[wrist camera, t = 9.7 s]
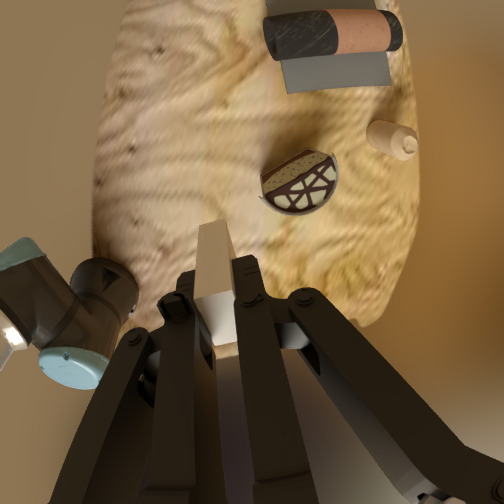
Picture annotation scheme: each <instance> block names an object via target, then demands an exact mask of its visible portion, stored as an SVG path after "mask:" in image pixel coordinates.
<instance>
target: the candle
mask: <svg viewBox="0 0 504 504" xmlns="http://www.w3.org/2000/svg"><path fill="white" fill-rule="evenodd" d="M366 137H367V141H368V143H369V144H370V145H371V146H372V147H373V148H375V149H377V150H379V151H382V152H384V153H386V154H388V155H390V156H393V157H395V158H397V159H399V160H402V161H406V160H409V159H411V158H412V157H413V156H414V155H415V154H416V152H417V150H418V137H417V135H416V133H415V131H414V130H413V129H411V128H409V127H406V126H403V125H399V124H395V123H391V122H387V121H383V120H376V121H373V122H372V123H371V124H370V125H369V126H368V128H367V131H366Z"/></svg>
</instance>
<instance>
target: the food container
mask: <svg viewBox="0 0 504 504" xmlns="http://www.w3.org/2000/svg"><path fill="white" fill-rule="evenodd" d="M332 155H333V156H331V155H328V154H325V153H322V152H319V151H317V150H314V149H311V148H306V149H305V150H303V151H301V152H299V153H298V154H296V155H294V156H293V157H291V158H289V159H287V160H286V161H284V162H282V163H281V164H279V165H277V166H276V167H274V168H272V169H271V170H269V171H267V172H266V173H264V174H263V175H261V176H260V180H261V187H262V194H263V198H262V197H260V196H259V198H260V199H261V200H262V201H263V202H264V203H265V204H266V205H267V206H268V207H270V208H271V209H273V210H274V211H276V212H278V213H280V214H284V215H288V216H302V215H307V214H310V213H313V212H315V211H317V210H318V209H320V208H321V207H323V206H324V205H325V204H326V203H327V202H328V201H329V199H330V198H331V197H332V195H333V193H334V191H335V189H336V186H337V182H338V174H339V173H338V165H337V161H336V158H335V156H334V154H333V153H332Z"/></svg>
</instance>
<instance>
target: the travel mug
mask: <svg viewBox="0 0 504 504" xmlns="http://www.w3.org/2000/svg"><path fill="white" fill-rule="evenodd" d="M263 30H264V36H265V40H266V44H267V47H268V50H269V52H270V54H271V56H272V58H273V59H274V60H275V61H281V60H289V59H296V58H305V57H314V56H326V55H337V54H348V53H361V52H383V51H396V50H398V49H399V48H400V47H401V45H402V41H403V31H402V27H401V24H400V22H399V20H398V18H397V17H396V16H395V15H394V14H393V13H391V12H389V11H385V10H368V9H323V10H312V11H303V12H295V13H288V14H281V15H275V16H270V17H266V18H264V20H263Z"/></svg>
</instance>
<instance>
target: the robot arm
mask: <svg viewBox="0 0 504 504" xmlns="http://www.w3.org/2000/svg"><path fill="white" fill-rule="evenodd" d="M46 256H47V255H46V254H45V253H43V252H42V251H41V250H40V248H39V247H38V246H37V244H36V243H35V242H34V241H33V240H32V239H31V238H28V237H23V238H21V239H19V240H17V241H16V242H14V243H13V244H12V245H10V246H9V247H7V248H6V249H5V250H3V251H2V252H1V253H0V371H1V370H2V368H3V366H4V365H5V363H6V361H7V360H8V358H9V357H10V355H11V353H12V352H13V351H15V350H22V349H27V347H28V346H29V344H30V343H32V344H33V345H34V346H35V347H36V348H37V349H38V350H39V351H40V353H39V355H38V362H39V365H40V367H41V369H42V370H43V372H44V373H45V374H46V375H48V376H49V377H50V378H52V379H53V380H55V381H57V382H58V383H60V384H63V385H65V386H68V387H71V388H76V389H84V390H86V389H94V388H96V390H95V393H94V394H93V396H92V399H91V401H90V403H89V405H88V407H87V409H86V412H85V414H84V416H83V418H82V421H81V423H80V425H79V427H78V430H77V432H76V434H75V437H74V439H73V441H72V444H71V446H70V449H69V451H68V454H67V456H66V459H65V461H64V464H63V466H62V469H61V471H60V474H59V477H58V479H57V482H56V485H55V488H54V490H53V493H52V496H51V499H50V502H49V503H48V504H135V501H136V497H137V494H138V490H139V487H140V483H141V480H142V476H143V473H144V470H145V466H146V463H147V460H148V456H149V453H150V450H151V464H150V483H149V486H148V487H147V488H145V489H144V490H142V491H141V493H140V495H139V501H138V504H228V502H227V497H226V489H225V479H224V469H223V458H222V447H221V434H220V421H219V407H218V391H217V375H216V355H215V352H214V350H213V348H212V340H213V343H214V345H215V346H217V345H221V344H226V343H230V342H235V341H237V343H238V352H239V360H240V368H241V376H242V385H243V393H244V401H245V409H246V417H247V425H248V432H249V439H250V447H251V454H252V461H253V468H254V475H255V481H254V484H253V499H254V504H319V502H318V498H317V494H316V490H315V485H314V481H313V477H312V474H311V470H310V466H309V462H308V458H307V453H306V449H305V445H304V442H303V438H302V433H301V429H300V425H299V422H298V417H297V414H296V410H295V406H294V402H293V398H292V394H291V390H290V386H289V382H288V378H287V374H286V370H285V366H284V362H283V358H282V354H281V350H280V349H297V352H298V353H299V355H300V356H301V357H302V359H303V360H304V362H305V363H306V364H307V366H308V367H309V369H310V370H311V372H312V373H313V375H314V376H315V377H316V379H317V380H318V382H319V383H320V385H321V386H322V387H323V389H324V390H325V392H326V393H327V395H328V396H329V397H330V399H331V400H332V402H333V403H334V404H335V406H336V407H337V408H338V410H339V411H340V413H341V414H342V416H343V417H344V419H345V420H346V421H347V422H348V424H349V425H350V427H351V428H352V429H353V431H354V432H355V434H356V435H357V437H358V438H359V439H360V441H361V442H362V444H363V445H364V446H365V447H366V449H367V450H368V452H369V453H370V454H371V456H372V457H373V458H374V460H375V461H376V463H377V464H378V465H379V467H380V468H381V470H382V471H383V472H384V474H385V475H386V476H387V478H388V479H389V480H390V482H391V483H392V484H393V486H394V487H395V488H396V489H397V490H398V491H399V492H400V494H401V495H402V496H403V497H405V498H406V499H407V500H408V501H409V502H410V503H412V504H504V463H503V462H500V461H498V460H496V459H494V458H491V457H489V456H486V455H484V454H482V453H480V452H478V451H476V450H473V449H471V448H469V447H467V446H465V445H464V444H463V443H462V442H461V441H460V440H459V439H458V438H457V436H456V435H455V434H454V433H453V432H452V431H451V430H450V429H449V428H448V426H447V425H446V424H445V423H444V422H443V421H442V420H441V419H440V418H439V417H438V415H437V414H436V413H435V412H434V411H433V410H432V409H431V408H430V407H429V406H428V404H427V403H426V402H425V401H424V400H423V399H422V398H421V397H420V396H419V395H418V394H417V393H416V392H415V390H414V389H413V388H412V387H411V386H410V385H409V384H408V383H407V382H406V381H405V380H404V379H403V378H402V377H401V375H400V374H399V373H398V372H397V371H396V370H395V369H394V368H393V367H392V366H391V365H390V364H389V363H388V362H387V360H385V358H384V357H383V356H382V355H381V354H380V353H379V352H378V351H377V350H376V349H375V348H374V347H373V346H372V345H371V344H370V343H369V342H368V341H367V340H366V338H365V337H364V336H363V335H362V334H361V333H360V332H359V331H358V330H357V329H356V328H355V327H354V326H353V325H352V324H351V323H350V322H349V321H348V320H347V319H346V318H345V317H344V316H343V315H342V314H341V313H340V311H339V310H338V309H337V308H336V307H335V306H334V305H333V304H332V303H331V302H330V301H329V300H328V299H327V298H326V297H325V296H324V295H323V294H322V293H321V292H320V291H318V290H317V289H314V288H310V287H307V288H300V289H297V290H295V291H293V292H292V293H291V294H290V295H289V296H288V299H277V298H273V297H271V296H269V295H268V294H267V293H266V291H265V288H264V284H263V280H262V276H261V272H260V268H259V264H258V261H257V258H255V257H254V256H253V255H252V254H251V255H247V256H243V257H239V258H236V255H235V251H234V248H233V244H232V241H231V238H230V234H229V231H228V227H227V224H226V221H225V219H222V220H218V221H214V222H210V223H207V224H203V225H199V235H198V246H197V258H196V269H195V270H191V271H187V272H183V273H182V274H181V275H180V277H179V278H178V279H177V284H176V291H173V292H170V293H168V294H166V295H165V296H163V297H162V298H161V299H160V300H159V301H158V303H157V307H158V309H159V311H160V313H161V315H162V316H163V318H164V320H165V322H164V325H163V326H162V327H160V328H158V329H156V330H154V331H152V332H150V333H149V332H148V331H147V330H146V329H145V328H142V327H137V328H133V329H131V330H129V331H128V332H127V333H125V334H124V336H123V337H122V338H121V340H120V342H119V344H118V346H117V348H116V350H115V352H114V349H115V345H116V342H117V338H118V335H119V331H120V328H121V326H122V325H123V324H124V323H125V322H126V321H127V320H128V318H129V317H130V316H131V315H132V314H133V313H134V311H135V309H136V306H137V303H138V298H139V291H138V287H137V284H136V282H135V280H134V279H133V277H132V276H131V275H130V273H129V272H128V271H127V270H126V269H124V268H123V267H122V266H120V265H119V264H117V263H115V262H113V261H111V260H108V259H103V258H91V259H87V260H85V261H83V262H82V263H80V265H78V267H77V268H76V270H75V271H74V273H73V274H72V277H71V280H70V286H69V285H68V284H67V283H66V281H65V280H64V279H63V278H62V276H61V275H60V274H59V272H58V271H57V270H56V269H55V267H54V266H53V265H52V263H51V262H50V261H49V259H48V258H47V257H46ZM113 353H114V354H113ZM141 374H142V377H141V379H140V376H141ZM139 379H140V380H139Z"/></svg>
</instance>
